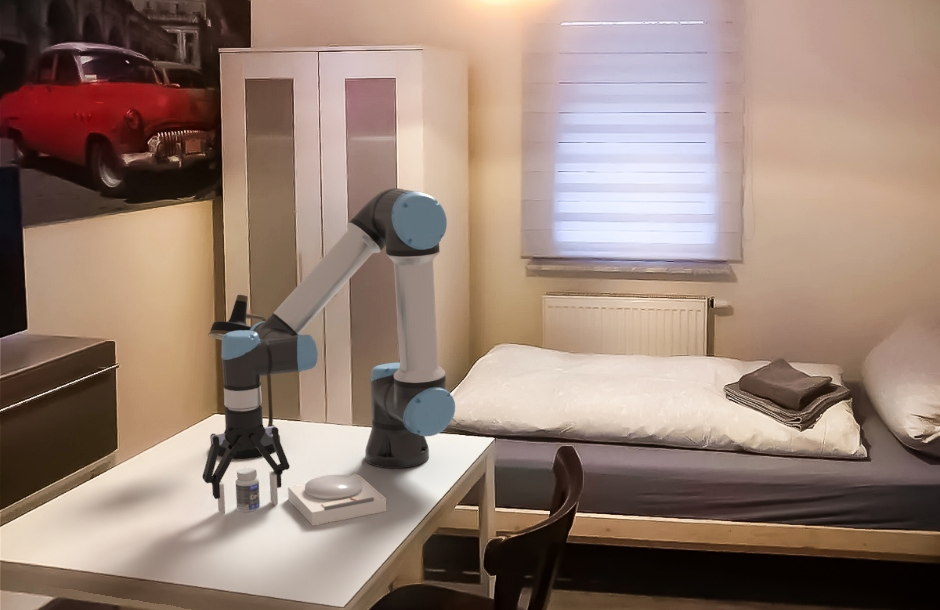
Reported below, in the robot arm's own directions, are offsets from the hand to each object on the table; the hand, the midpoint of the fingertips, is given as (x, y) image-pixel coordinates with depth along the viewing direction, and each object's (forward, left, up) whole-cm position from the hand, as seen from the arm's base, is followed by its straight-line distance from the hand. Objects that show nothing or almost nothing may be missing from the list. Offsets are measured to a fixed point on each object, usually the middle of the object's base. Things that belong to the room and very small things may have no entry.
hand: (248, 507), depth 219 cm
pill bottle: (0, 0, 0) cm, 0 cm away
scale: (-17, +7, 0) cm, 18 cm away
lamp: (-11, -39, 0) cm, 41 cm away
